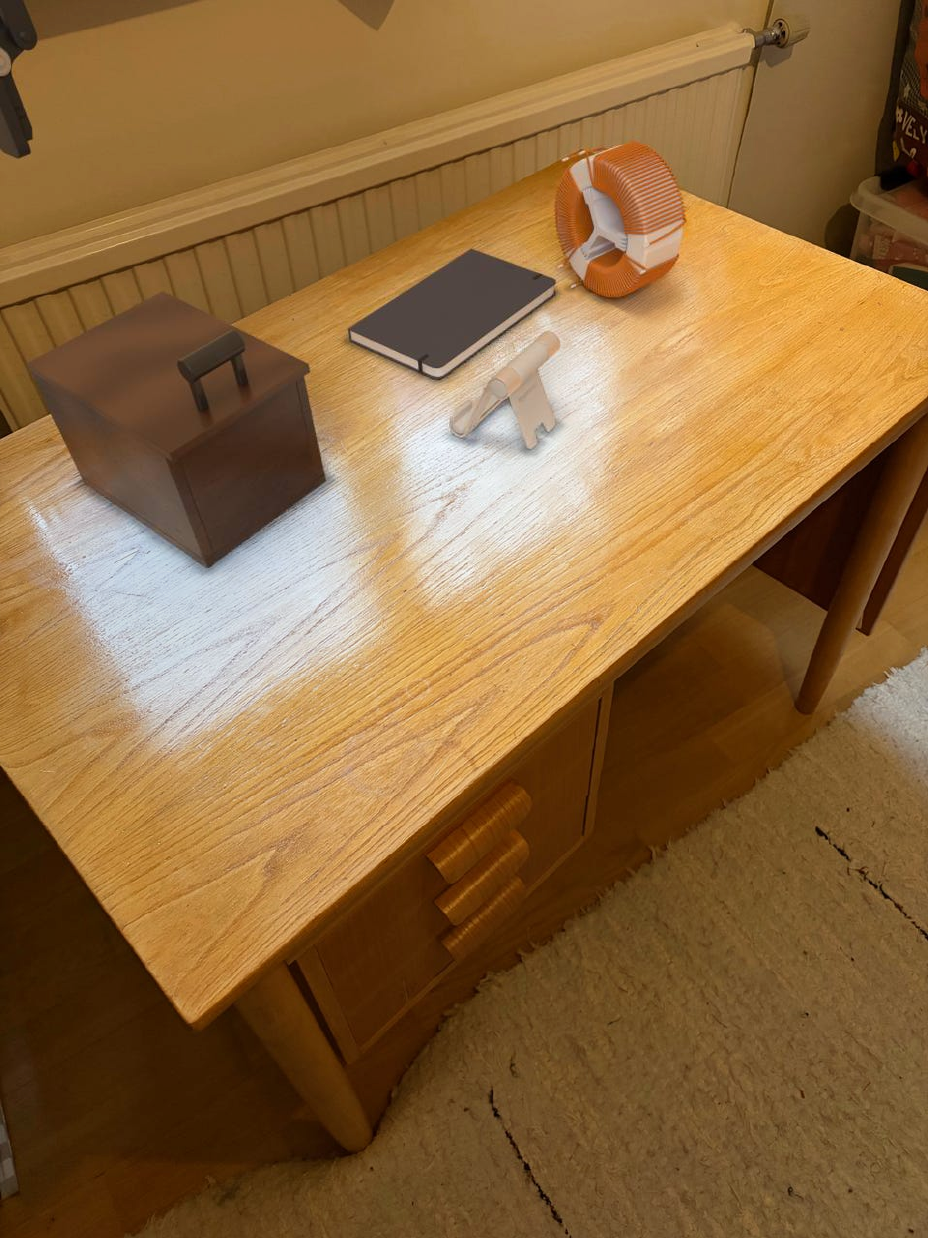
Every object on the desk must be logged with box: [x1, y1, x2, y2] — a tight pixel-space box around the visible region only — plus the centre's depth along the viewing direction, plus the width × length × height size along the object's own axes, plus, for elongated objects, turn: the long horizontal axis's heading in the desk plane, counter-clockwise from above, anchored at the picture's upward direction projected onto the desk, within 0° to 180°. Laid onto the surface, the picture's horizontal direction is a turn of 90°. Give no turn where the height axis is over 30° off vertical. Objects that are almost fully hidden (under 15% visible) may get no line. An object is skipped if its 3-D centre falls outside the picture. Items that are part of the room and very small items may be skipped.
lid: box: [26, 290, 311, 461], centre depth 70 cm, size 19×14×5 cm
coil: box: [553, 140, 688, 299], centre depth 95 cm, size 7×15×15 cm, turn 37°
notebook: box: [347, 248, 557, 380], centre depth 97 cm, size 13×2×21 cm
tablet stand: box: [449, 330, 561, 450], centre depth 82 cm, size 9×8×8 cm
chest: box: [30, 372, 327, 569], centre depth 76 cm, size 18×14×12 cm
